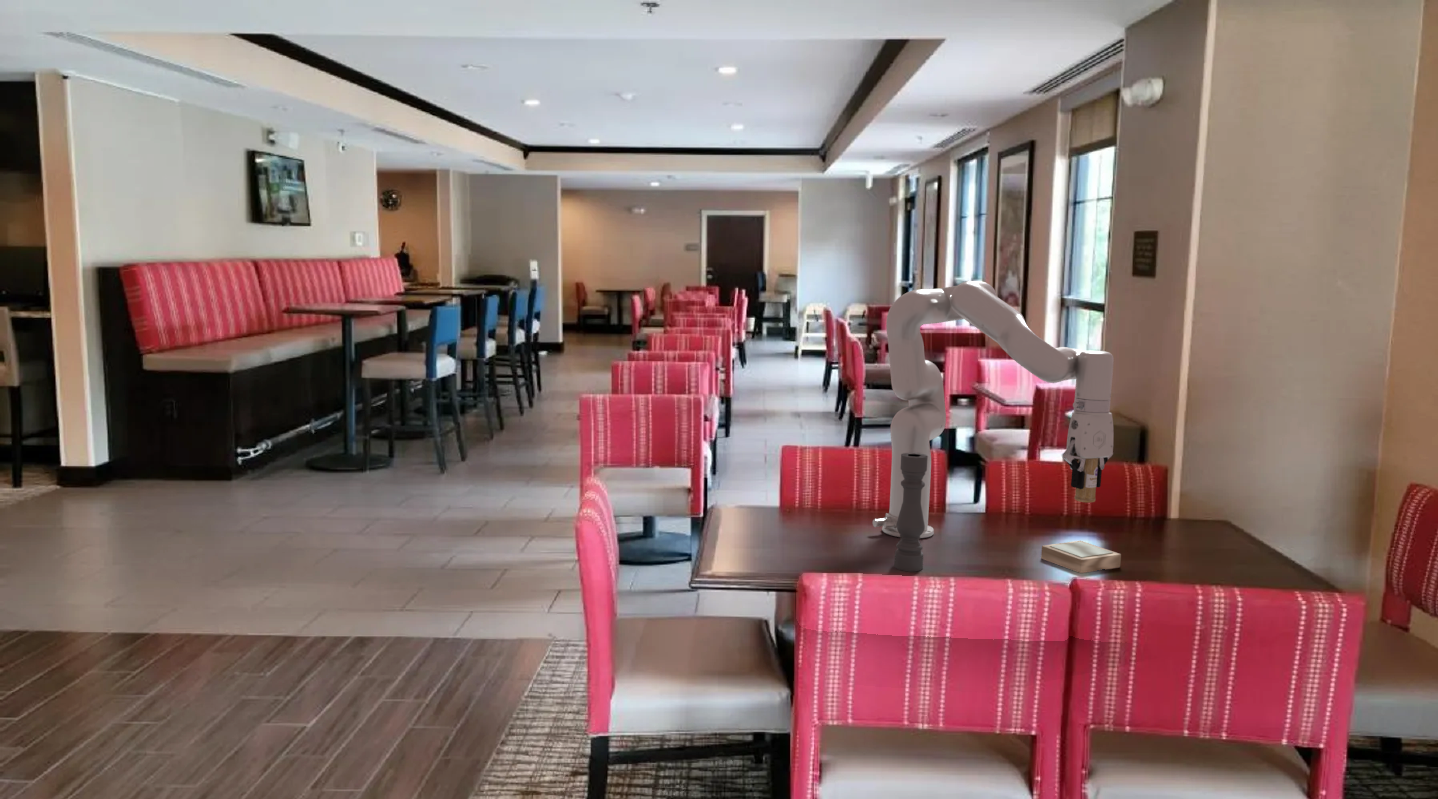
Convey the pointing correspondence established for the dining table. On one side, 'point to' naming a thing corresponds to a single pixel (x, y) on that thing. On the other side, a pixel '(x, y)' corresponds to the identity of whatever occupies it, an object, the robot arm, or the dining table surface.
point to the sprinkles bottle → (1088, 481)
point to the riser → (1080, 556)
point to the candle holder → (911, 513)
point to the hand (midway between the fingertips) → (1085, 486)
